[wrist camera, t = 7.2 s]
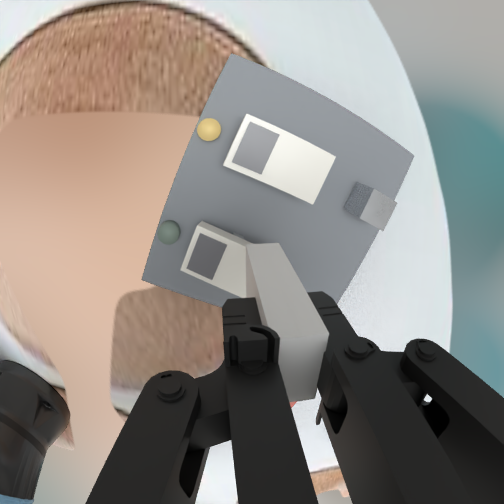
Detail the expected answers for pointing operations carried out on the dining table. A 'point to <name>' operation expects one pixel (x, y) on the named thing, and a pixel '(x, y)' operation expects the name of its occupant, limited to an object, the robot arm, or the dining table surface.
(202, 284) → the panel
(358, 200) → the post
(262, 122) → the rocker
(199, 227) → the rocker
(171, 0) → the dining table surface
